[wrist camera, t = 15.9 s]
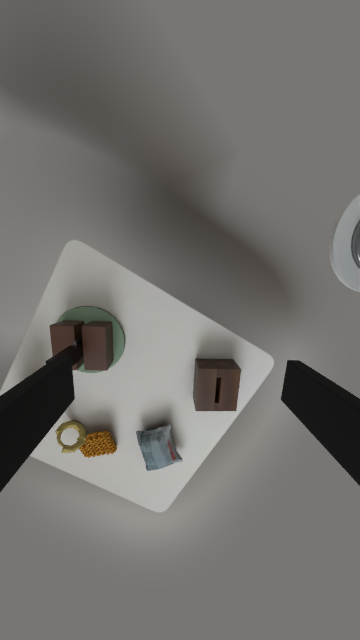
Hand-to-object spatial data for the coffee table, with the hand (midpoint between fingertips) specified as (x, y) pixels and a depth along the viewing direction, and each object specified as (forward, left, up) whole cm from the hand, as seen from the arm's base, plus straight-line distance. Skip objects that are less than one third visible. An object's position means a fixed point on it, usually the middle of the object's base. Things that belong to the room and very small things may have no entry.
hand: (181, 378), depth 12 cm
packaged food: (+2, +34, -31) cm, 46 cm away
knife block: (-10, +17, -31) cm, 36 cm away
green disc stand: (+18, +8, -31) cm, 36 cm away
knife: (+18, +8, -30) cm, 36 cm away
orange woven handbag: (+19, +32, -31) cm, 48 cm away
